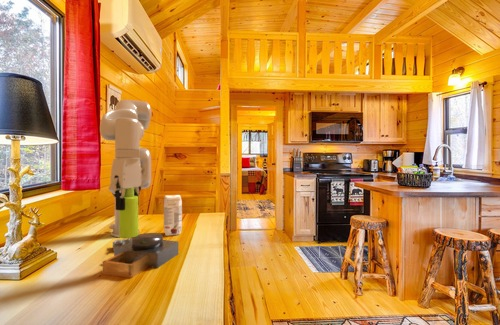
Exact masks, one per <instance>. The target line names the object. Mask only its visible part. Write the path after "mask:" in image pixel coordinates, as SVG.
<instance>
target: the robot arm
mask: <svg viewBox="0 0 500 325" xmlns="http://www.w3.org/2000/svg"><path fill="white" fill-rule="evenodd" d="M114 107H115V110H111V111H109V112H106V113H104V114H103V115H102V116H101V119H100V120H101V121H100V124H99V133H100V136H101V138H102V139H103V140H106V141H114V158H113V160H112V163H111V164H112V165H111V169H110V170H111V171H110V185H109V186H108V190H109V191H110V192H111V194H112V195H113V197H114V223H111V224H110V225H109V226H108V229H109V230H112V231H111V232H110V234H111V237H115V238H120V237H119V210H125V198H123V197H124V193H125V190H126V189H129V188H131V187H134V196H138V207H139V204H140V203H139V202H140V200H139V195H140V194H141V190H142V189H148V188H149V187H150V186H151V184H152V156H151V152H150V150H149V149H147V148H143V147H140V145H141V144H140V141H141V140H142V138H143V137H144V135H145V130H148V129H149V127H150V122H151V118H152V109H151V108H152V107H151V105H150V103H149V102H147V101H145V100H143V101H142V100H133V99H122V100H118V102H117V103H116V105H115V106H114ZM139 233H140V229H139V228H138V234H139Z"/></svg>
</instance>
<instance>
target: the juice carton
mask: <svg viewBox="0 0 500 325" xmlns="http://www.w3.org/2000/svg"><path fill="white" fill-rule="evenodd" d="M182 205H183V200H182V196H181V195H180V194H175V195H174V194H173V195H169V194H168V195H164V198H163V231H164V234H165V235H164V236H166V237H169V236H179V235H181V233H182V230H183V229H182V228H183V206H182Z"/></svg>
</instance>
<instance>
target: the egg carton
mask: <svg viewBox="0 0 500 325" xmlns="http://www.w3.org/2000/svg"><path fill="white" fill-rule="evenodd" d="M130 241H132V238H123V239H115V240H114V241H113V242H112V250H114V248H117V247H119V246H121V245H123V244H126V243H128V242H130Z"/></svg>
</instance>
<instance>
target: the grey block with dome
mask: <svg viewBox="0 0 500 325" xmlns="http://www.w3.org/2000/svg"><path fill="white" fill-rule="evenodd" d="M163 236H164V235H163V234H162V233H159V232H158V233H157V232H146V233H144V232H143V233H140V234H139V233H138V236H136V237H132V241H130V242H128V243H126V244H123V245H121V246H119V247H117V248H114V249H113V256H111V257H110V258H107V259H104V260H103V261H102V274H103V275H107V276H114V277H122V278H128V279H132V278H134V277H135V276H137V275H139V274H140V273H141V272H143V271H145V270H146V269H148V268H153V269H155V268H157V269H159V268H160V267H161V266H163V265H164V264H166V263H167V262H168V261H170V260H171V259H173V258H174V257H176V256H178V255H179V241H176V240H167V239H164V237H163Z"/></svg>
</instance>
